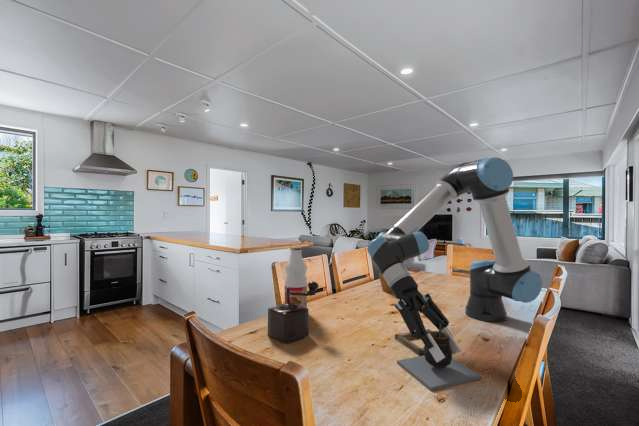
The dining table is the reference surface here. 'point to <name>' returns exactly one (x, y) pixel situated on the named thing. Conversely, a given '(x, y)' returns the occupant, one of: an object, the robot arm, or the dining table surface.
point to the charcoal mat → (438, 373)
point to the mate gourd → (444, 346)
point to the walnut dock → (403, 339)
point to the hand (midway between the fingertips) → (449, 355)
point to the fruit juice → (296, 277)
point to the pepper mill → (290, 318)
